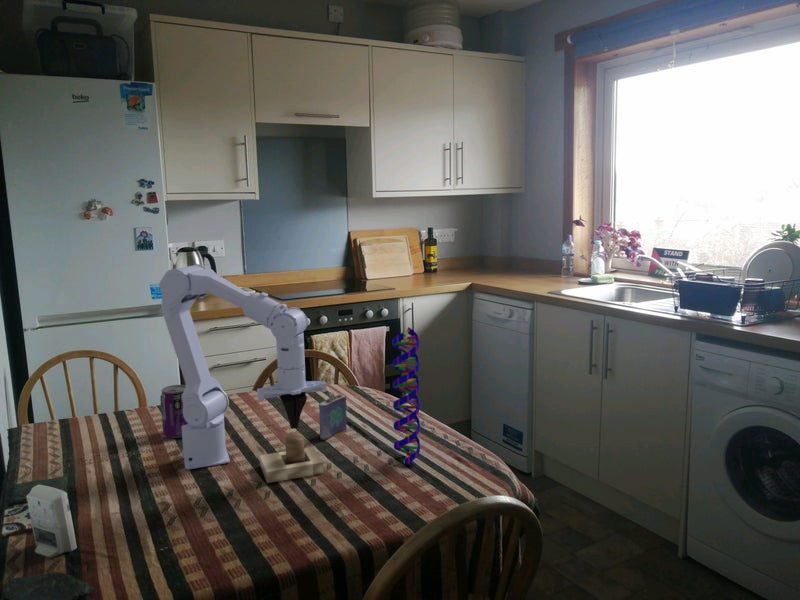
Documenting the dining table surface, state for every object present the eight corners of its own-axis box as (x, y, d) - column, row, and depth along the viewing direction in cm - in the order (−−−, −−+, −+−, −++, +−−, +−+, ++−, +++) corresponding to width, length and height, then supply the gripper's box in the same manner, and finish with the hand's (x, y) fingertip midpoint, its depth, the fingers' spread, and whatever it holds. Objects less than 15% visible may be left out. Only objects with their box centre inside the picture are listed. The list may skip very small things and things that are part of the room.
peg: (288, 474, 137) (287, 443, 135) (284, 466, 140) (283, 436, 139) (307, 470, 138) (306, 440, 137) (302, 463, 142) (301, 433, 141)
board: (267, 483, 132) (266, 471, 132) (260, 466, 141) (259, 455, 140) (323, 473, 137) (323, 462, 136) (313, 457, 145) (313, 446, 145)
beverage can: (187, 439, 156) (183, 392, 154) (158, 440, 156) (154, 393, 154) (197, 429, 163) (193, 384, 161) (169, 429, 163) (166, 384, 161)
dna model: (418, 467, 139) (416, 332, 134) (391, 465, 140) (389, 332, 135) (422, 455, 145) (421, 326, 140) (397, 454, 146) (395, 326, 141)
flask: (325, 441, 154) (324, 398, 152) (316, 438, 156) (314, 396, 154) (349, 429, 162) (348, 388, 160) (340, 426, 163) (339, 386, 162)
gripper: (259, 374, 129) (263, 438, 131) (329, 366, 134) (331, 428, 136) (254, 366, 135) (257, 426, 138) (321, 358, 140) (323, 417, 143)
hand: (293, 426), depth 137 cm, fingers closed
